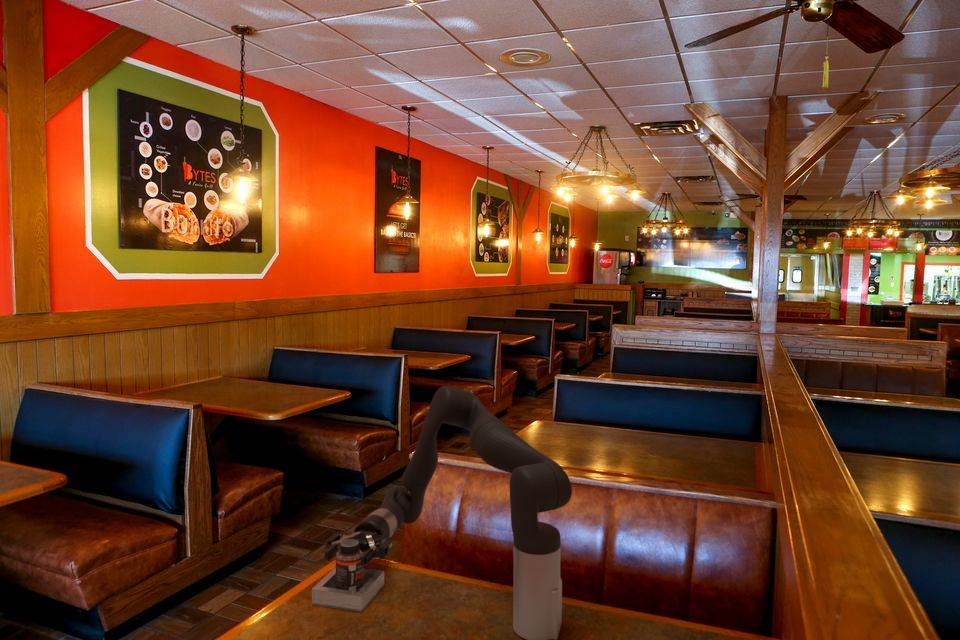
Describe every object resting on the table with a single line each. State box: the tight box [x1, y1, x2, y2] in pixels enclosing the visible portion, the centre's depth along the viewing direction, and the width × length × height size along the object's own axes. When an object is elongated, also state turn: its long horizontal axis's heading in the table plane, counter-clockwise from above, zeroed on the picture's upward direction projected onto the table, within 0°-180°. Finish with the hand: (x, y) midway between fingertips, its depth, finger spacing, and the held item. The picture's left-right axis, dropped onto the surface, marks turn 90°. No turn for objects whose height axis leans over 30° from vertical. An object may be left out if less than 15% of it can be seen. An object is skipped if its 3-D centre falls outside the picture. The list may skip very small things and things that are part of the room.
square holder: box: [311, 566, 385, 613], centre depth 139 cm, size 12×12×4 cm
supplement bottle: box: [335, 539, 364, 592], centre depth 139 cm, size 6×6×11 cm
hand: (344, 559), depth 137 cm, fingers open, 8 cm apart
